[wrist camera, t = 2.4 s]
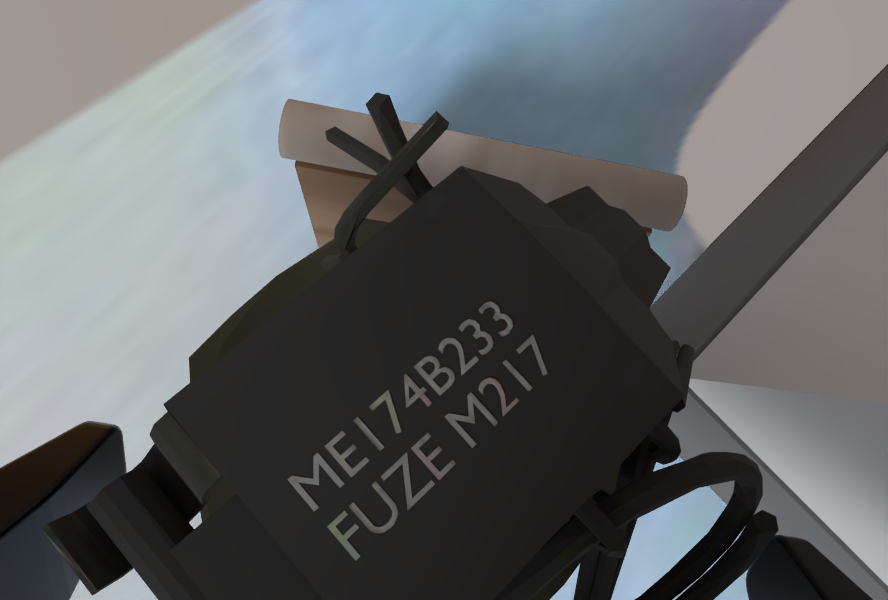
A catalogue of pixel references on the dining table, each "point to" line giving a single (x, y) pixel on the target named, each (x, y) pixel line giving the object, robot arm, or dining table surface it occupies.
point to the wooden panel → (539, 170)
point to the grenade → (427, 414)
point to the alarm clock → (801, 343)
